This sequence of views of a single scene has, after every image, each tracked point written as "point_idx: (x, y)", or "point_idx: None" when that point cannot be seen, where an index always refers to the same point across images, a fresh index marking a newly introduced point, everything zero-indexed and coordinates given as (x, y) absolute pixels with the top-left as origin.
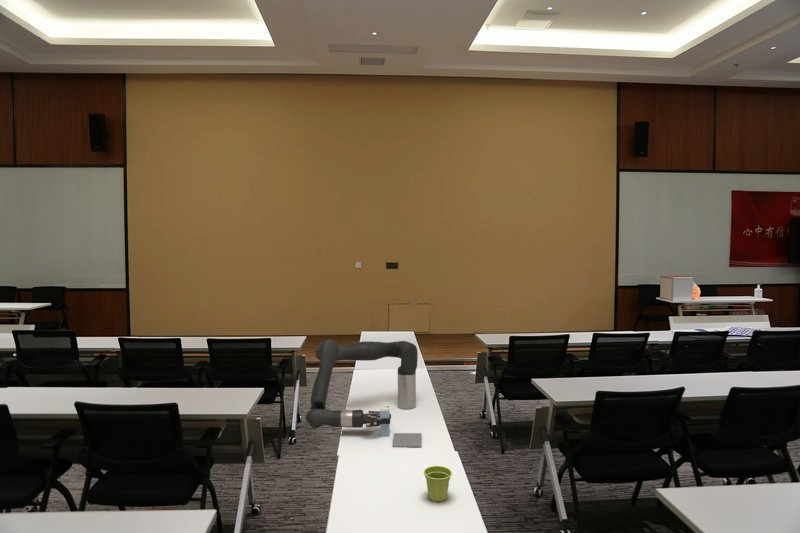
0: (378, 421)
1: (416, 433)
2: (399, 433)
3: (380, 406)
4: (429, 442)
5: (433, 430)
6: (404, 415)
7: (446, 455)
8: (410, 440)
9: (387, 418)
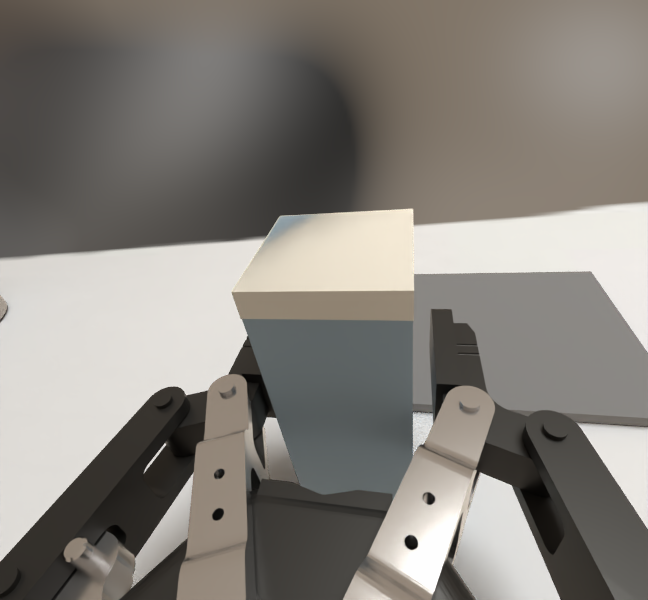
0: (574, 434)
1: None
2: None
3: (254, 288)
4: (494, 256)
5: None
6: (62, 343)
7: (641, 214)
8: (510, 313)
9: (434, 325)
